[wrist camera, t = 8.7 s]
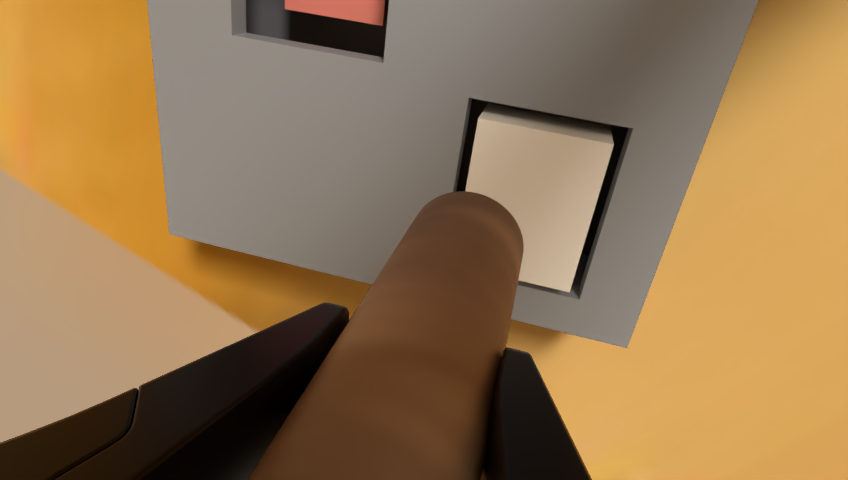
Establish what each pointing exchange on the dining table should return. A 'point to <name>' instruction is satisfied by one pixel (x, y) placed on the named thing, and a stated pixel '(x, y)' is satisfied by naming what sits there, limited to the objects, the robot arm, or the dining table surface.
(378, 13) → the button
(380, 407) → the tan rounded rod
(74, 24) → the dining table surface
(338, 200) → the panel
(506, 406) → the robot arm
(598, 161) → the on button
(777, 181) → the dining table surface
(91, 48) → the dining table surface
